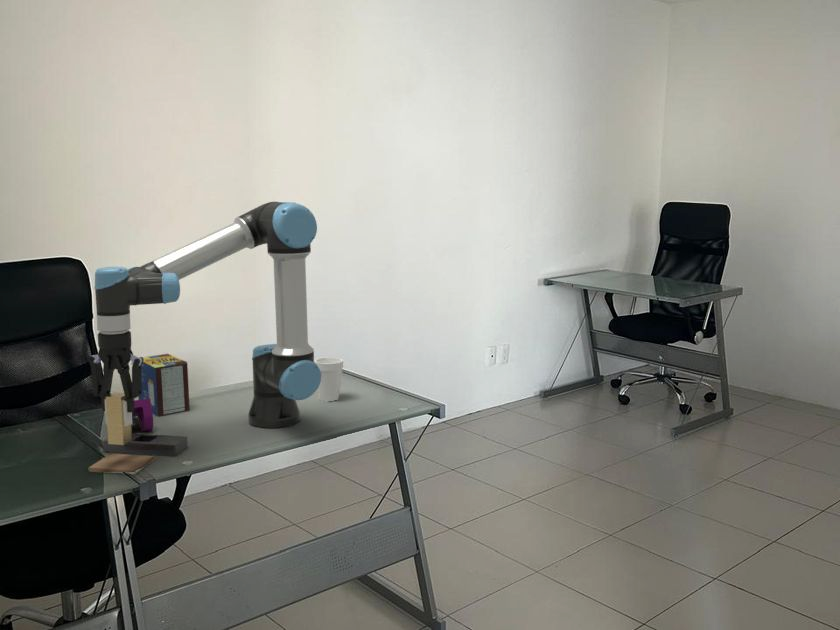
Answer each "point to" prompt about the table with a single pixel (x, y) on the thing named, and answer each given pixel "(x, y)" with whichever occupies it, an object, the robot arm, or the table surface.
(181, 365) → the protein box
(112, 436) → the square peg
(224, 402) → the table surface
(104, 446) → the rail
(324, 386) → the foam cup
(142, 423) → the mounting bracket
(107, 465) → the walnut pad
